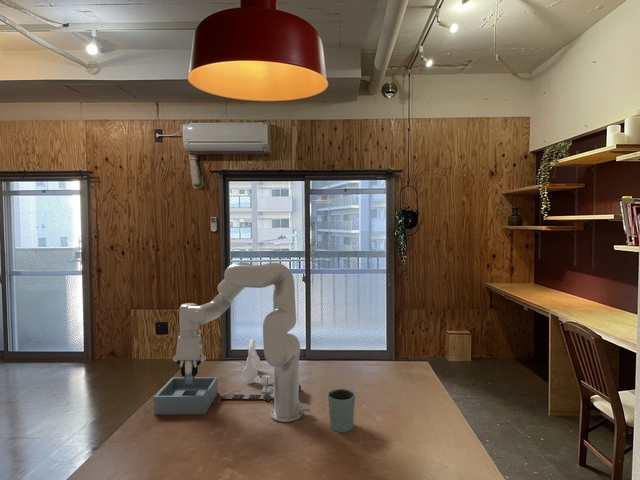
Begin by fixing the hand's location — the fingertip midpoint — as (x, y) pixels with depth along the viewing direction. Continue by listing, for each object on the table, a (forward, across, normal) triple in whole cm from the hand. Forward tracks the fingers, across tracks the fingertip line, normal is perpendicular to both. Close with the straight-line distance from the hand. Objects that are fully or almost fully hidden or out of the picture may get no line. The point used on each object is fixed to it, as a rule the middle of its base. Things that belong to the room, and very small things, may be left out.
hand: (189, 375), depth 171 cm
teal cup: (+10, -63, +23) cm, 68 cm away
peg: (+3, 0, 0) cm, 3 cm away
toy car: (+11, -38, -4) cm, 40 cm away
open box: (+11, 0, +3) cm, 11 cm away
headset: (+11, -22, -26) cm, 36 cm away
